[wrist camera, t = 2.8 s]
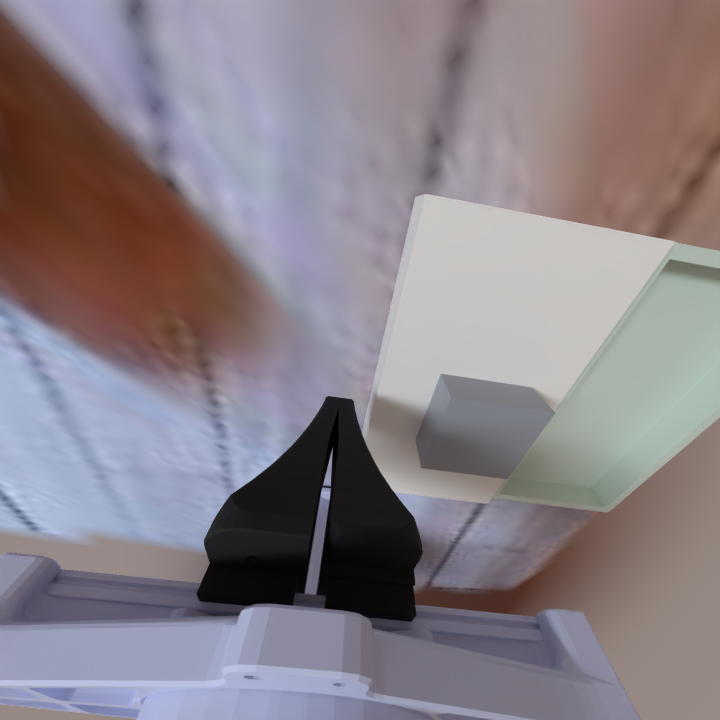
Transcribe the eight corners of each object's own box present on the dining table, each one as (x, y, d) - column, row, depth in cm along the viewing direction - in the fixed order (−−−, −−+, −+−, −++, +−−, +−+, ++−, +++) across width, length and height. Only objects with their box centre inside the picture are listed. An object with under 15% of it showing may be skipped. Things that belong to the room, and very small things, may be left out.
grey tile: (492, 450, 16) (507, 479, 14) (415, 440, 16) (421, 468, 14) (531, 387, 14) (555, 413, 12) (440, 373, 13) (451, 397, 12)
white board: (475, 473, 21) (487, 503, 19) (355, 458, 21) (354, 487, 18) (621, 235, 12) (675, 241, 10) (415, 196, 12) (425, 194, 9)
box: (589, 488, 22) (608, 512, 20) (477, 474, 21) (487, 497, 19) (808, 271, 13) (878, 281, 11) (624, 236, 12) (667, 241, 10)
